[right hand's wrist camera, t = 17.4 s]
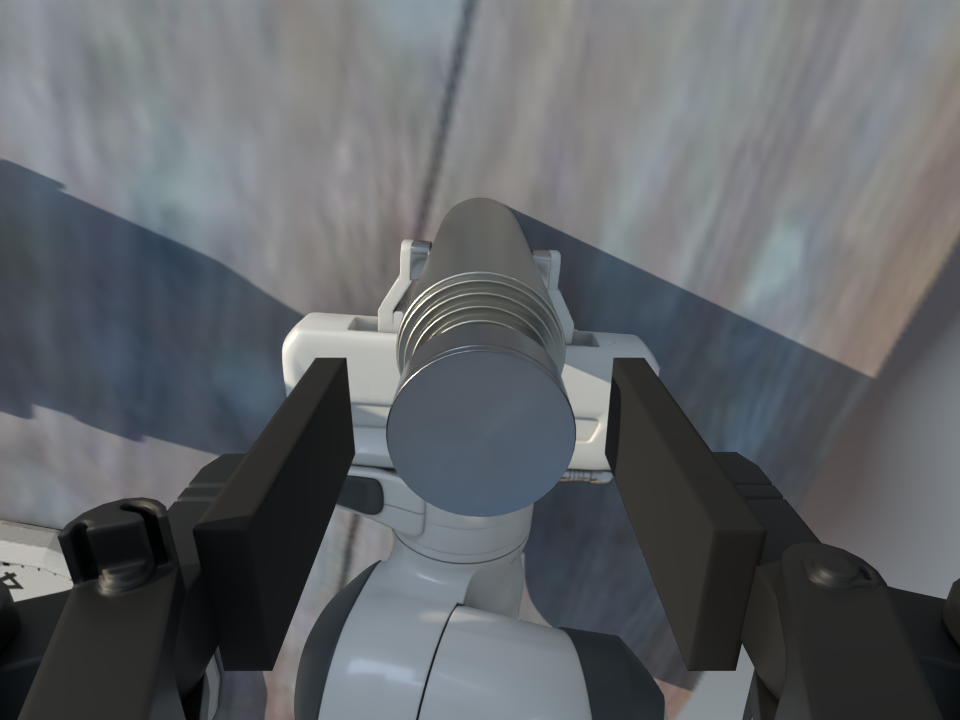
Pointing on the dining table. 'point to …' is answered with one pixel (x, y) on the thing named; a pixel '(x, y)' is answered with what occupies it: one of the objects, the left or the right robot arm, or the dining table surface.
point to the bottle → (480, 283)
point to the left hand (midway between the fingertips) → (480, 246)
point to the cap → (481, 422)
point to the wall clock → (52, 575)
